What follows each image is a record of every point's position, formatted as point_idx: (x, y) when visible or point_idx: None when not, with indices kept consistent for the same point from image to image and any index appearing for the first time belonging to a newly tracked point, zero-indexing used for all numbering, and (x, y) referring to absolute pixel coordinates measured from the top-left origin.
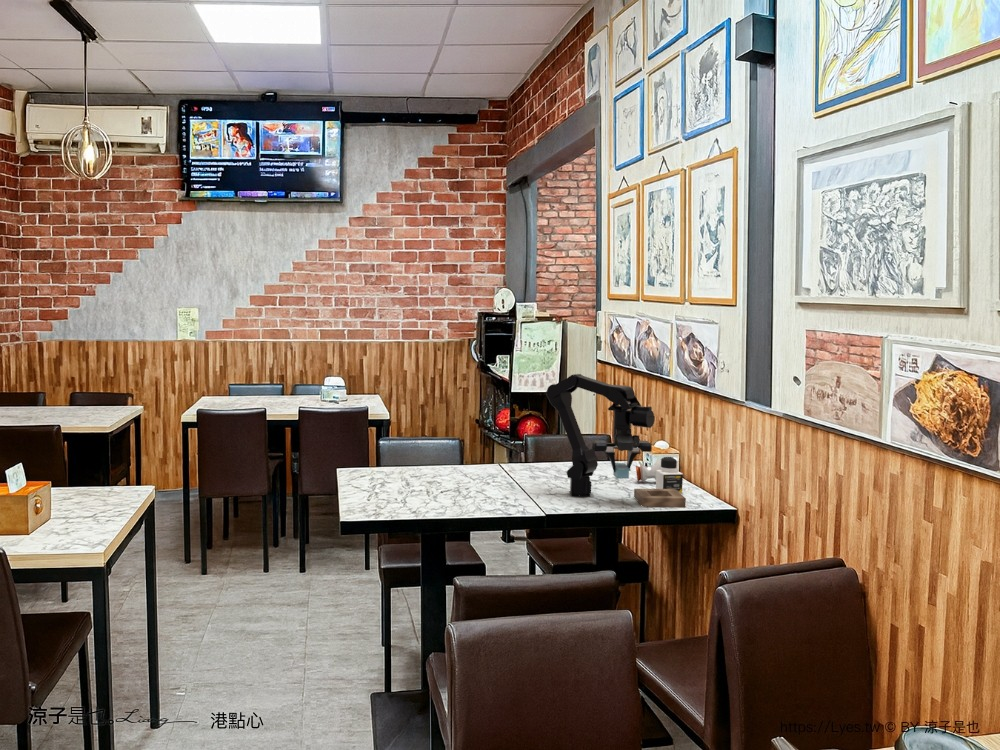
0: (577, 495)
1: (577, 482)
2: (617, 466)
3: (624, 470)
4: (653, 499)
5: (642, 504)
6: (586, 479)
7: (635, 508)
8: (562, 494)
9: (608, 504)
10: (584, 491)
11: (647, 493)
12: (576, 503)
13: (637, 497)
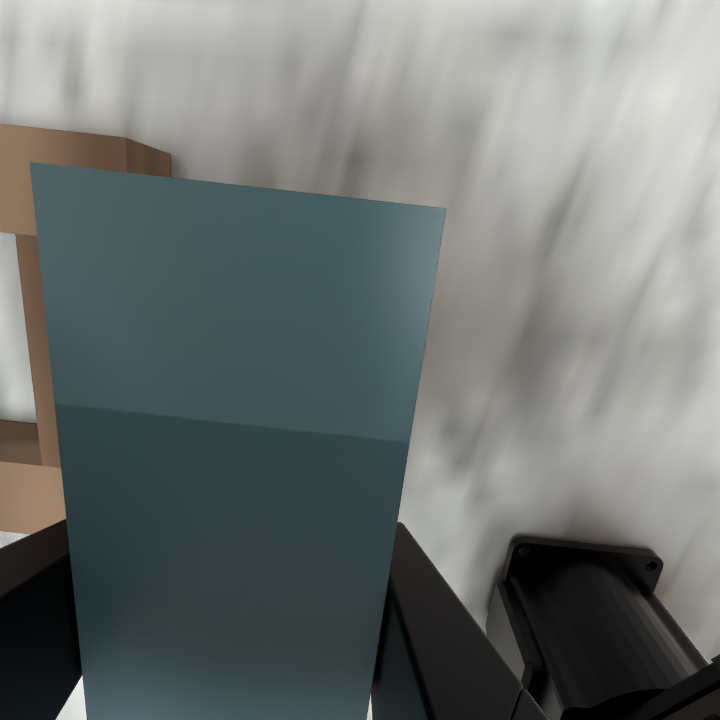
0: (617, 550)
1: (680, 656)
2: (343, 577)
3: (245, 191)
4: (13, 125)
5: (159, 150)
6: (600, 684)
7: (248, 98)
8: (685, 622)
9: (452, 283)
10: (569, 579)
11: (44, 353)
12: (717, 343)
13: None
